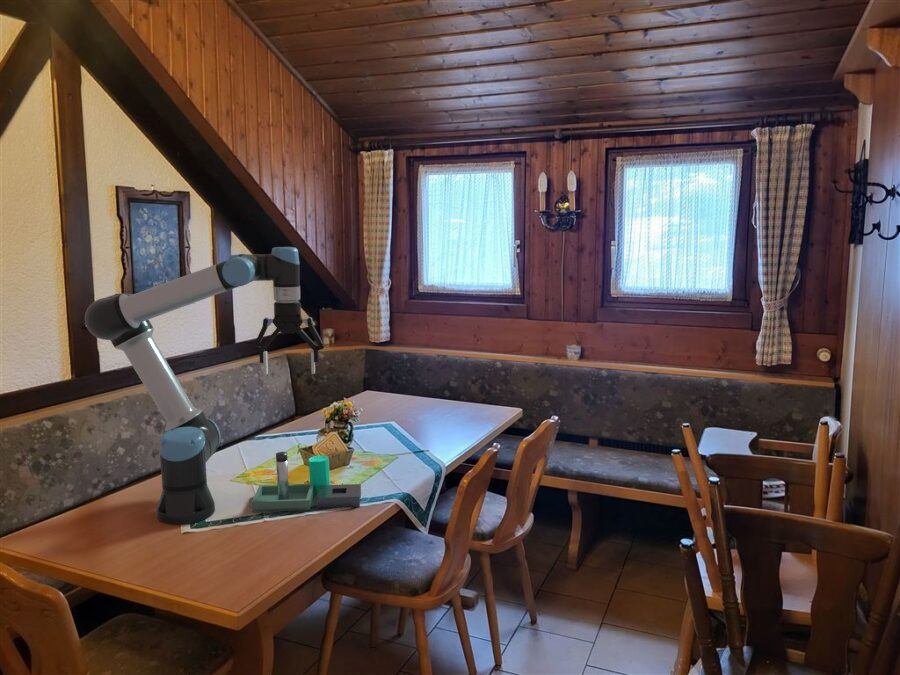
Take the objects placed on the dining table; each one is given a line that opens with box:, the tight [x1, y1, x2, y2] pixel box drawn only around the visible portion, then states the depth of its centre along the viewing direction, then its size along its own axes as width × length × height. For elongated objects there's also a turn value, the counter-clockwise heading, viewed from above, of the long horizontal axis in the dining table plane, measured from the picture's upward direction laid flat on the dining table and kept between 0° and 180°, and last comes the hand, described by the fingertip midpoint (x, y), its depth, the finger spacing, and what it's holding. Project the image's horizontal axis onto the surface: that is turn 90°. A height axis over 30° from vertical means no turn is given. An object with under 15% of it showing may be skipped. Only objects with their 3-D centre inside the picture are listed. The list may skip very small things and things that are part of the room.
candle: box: [308, 453, 331, 495], centre depth 218 cm, size 6×6×12 cm
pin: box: [275, 451, 290, 500], centre depth 208 cm, size 3×3×14 cm
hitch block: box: [316, 483, 362, 509], centre depth 210 cm, size 12×10×3 cm
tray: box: [251, 483, 315, 513], centre depth 209 cm, size 16×13×3 cm
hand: (289, 373), depth 210 cm, fingers open, 13 cm apart
